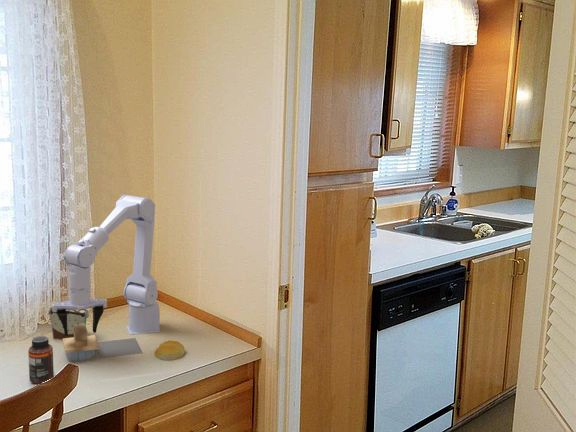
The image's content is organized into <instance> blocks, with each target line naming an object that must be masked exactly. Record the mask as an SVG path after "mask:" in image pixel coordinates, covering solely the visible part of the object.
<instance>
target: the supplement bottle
mask: <svg viewBox="0 0 576 432" xmlns="http://www.w3.org/2000/svg"><path fill="white" fill-rule="evenodd" d="M49 341H50V340H49V337H48V336H44V335H41V336H36V337H33V338H32V339H31V346H30V347H29V348H28V351H27V353H28V354H27V355H28V375H29V381H30V382H31V384H32V383H33V384H38V385H39V383H41V384H43V383H42V382H45V381H47V380H49V379H51V378H52V377H53V378H54V376H55V375H54V374H55V371H54V351H53V348H54V347H53V346H52V345H51V344H50V343H49Z"/></svg>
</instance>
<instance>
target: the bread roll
mask: <svg viewBox="0 0 576 432" xmlns="http://www.w3.org/2000/svg"><path fill="white" fill-rule="evenodd" d="M185 352H186V349H185V347H184V345H183V344H182V343H181V342H180V341H178V340H171V339H170V340H166V341H164V342H162V343H161V344H160V345H159V346H158V347H157V348H156V349H155V351H154V353H153V355H154V357H155V358H157V359H159V360H162V361H174V360H178V359H181V358H182V357H183V356H184V355H185Z"/></svg>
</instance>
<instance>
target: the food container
mask: <svg viewBox="0 0 576 432" xmlns="http://www.w3.org/2000/svg"><path fill="white" fill-rule="evenodd" d="M66 312H67V330H68V336H65V334H64V328H63V325H62V323H61V321H60V319H59V317H58V315H57V312H53V310H52V306H51V307H50V308H49V310H48V313H47V315H48V316H50V326H51V333H52V339H53V340H62V338H72V337H74V324H82V323H85V326H86V327H87V319H88V318H89V317H90V312H89V310H88V308H85V309H74V310H66Z"/></svg>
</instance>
